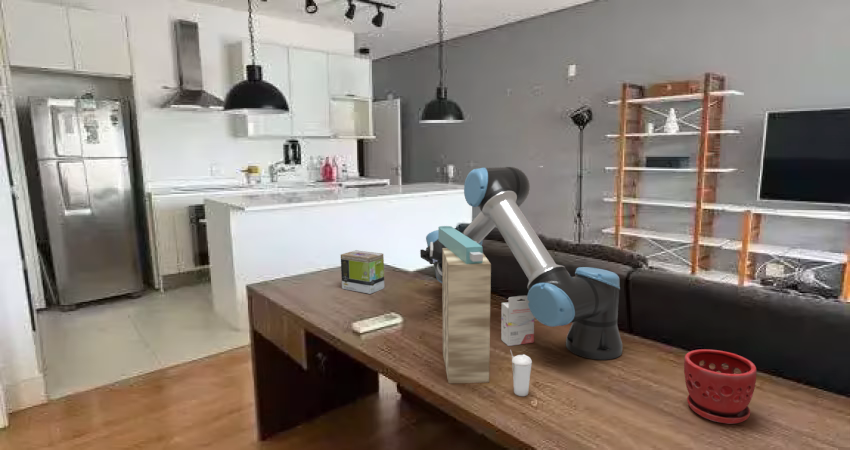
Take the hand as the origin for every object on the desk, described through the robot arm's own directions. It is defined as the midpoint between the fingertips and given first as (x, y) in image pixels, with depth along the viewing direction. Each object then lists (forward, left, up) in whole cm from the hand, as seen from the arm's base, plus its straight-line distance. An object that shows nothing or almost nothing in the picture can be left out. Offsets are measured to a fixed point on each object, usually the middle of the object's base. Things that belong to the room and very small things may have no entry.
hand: (453, 245), depth 145 cm
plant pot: (-72, -1, -27) cm, 77 cm away
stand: (-18, +18, -27) cm, 37 cm away
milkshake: (-36, +20, -27) cm, 49 cm away
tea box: (+55, -9, -27) cm, 62 cm away
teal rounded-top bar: (-13, +15, +3) cm, 20 cm away
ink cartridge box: (-20, -5, -27) cm, 34 cm away
